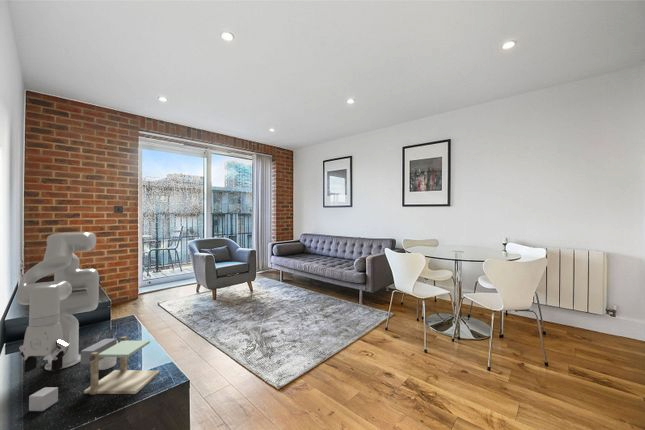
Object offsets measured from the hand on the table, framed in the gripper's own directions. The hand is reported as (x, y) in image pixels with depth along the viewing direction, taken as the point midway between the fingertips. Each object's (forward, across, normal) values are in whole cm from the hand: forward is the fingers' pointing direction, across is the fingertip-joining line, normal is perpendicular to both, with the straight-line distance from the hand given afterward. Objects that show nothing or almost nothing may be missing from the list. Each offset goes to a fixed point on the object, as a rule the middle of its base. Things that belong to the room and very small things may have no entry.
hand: (43, 370), depth 94 cm
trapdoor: (+3, +14, +15) cm, 21 cm away
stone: (+13, -1, +1) cm, 13 cm away
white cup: (+12, -1, +27) cm, 29 cm away
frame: (+13, +17, +15) cm, 26 cm away
